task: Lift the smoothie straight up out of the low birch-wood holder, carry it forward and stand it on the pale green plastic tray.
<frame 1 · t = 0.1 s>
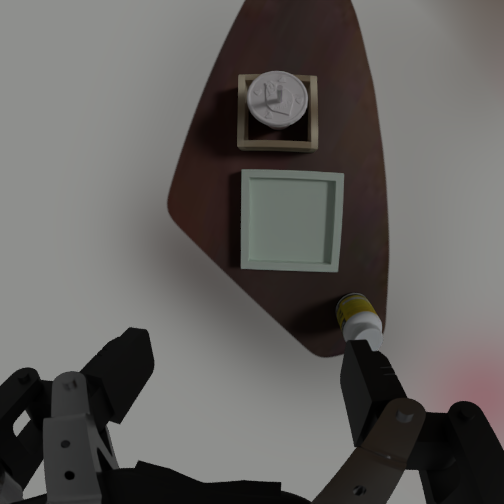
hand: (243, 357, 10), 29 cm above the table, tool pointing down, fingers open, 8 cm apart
supplement bottle: (351, 308, 40), on the table
holder: (278, 117, 35), on the table
tray: (291, 219, 38), on the table
smoothie: (278, 117, 35), resting in holder
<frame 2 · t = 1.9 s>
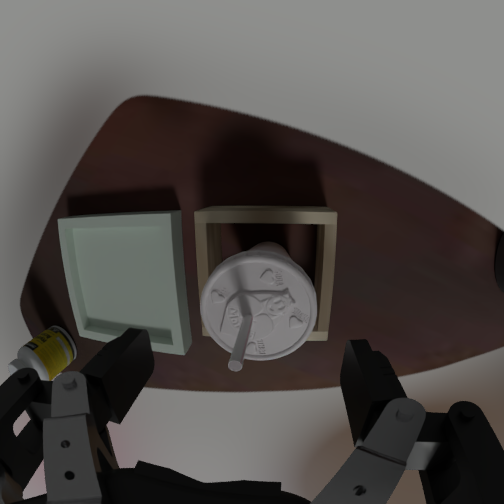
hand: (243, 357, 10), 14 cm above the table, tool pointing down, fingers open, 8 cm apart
supplement bottle: (64, 341, 30), on the table
holder: (268, 262, 24), on the table
tray: (126, 278, 26), on the table
smoothie: (268, 262, 24), resting in holder
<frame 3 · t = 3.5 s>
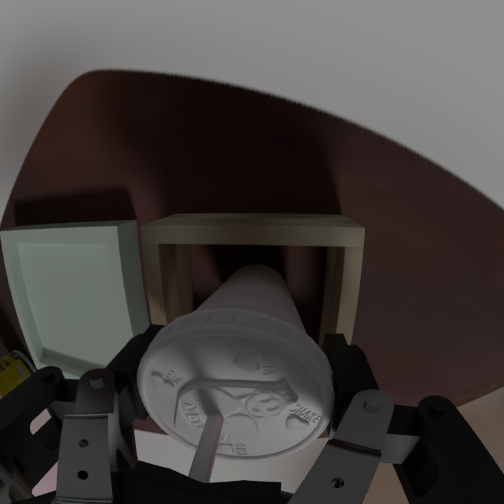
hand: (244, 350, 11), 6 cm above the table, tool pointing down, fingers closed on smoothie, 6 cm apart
supplement bottle: (27, 367, 23), on the table
holder: (257, 293, 17), on the table
tray: (78, 305, 19), on the table
smoothie: (257, 292, 17), resting in holder, touching gripper
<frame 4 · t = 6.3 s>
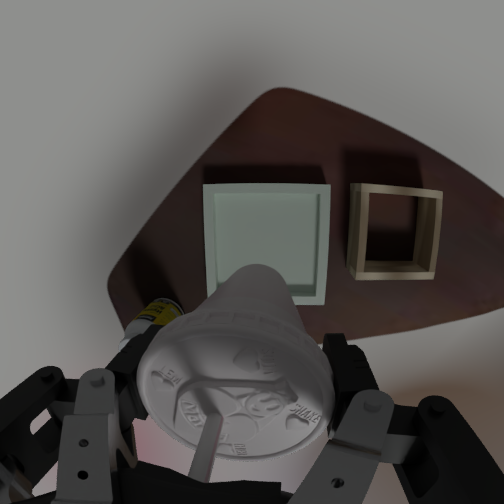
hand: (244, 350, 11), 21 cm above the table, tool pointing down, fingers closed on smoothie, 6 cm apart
supplement bottle: (167, 314, 35), on the table
holder: (387, 227, 30), on the table
tray: (267, 241, 32), on the table
smoothie: (257, 291, 17), point 15 cm above the table, touching gripper
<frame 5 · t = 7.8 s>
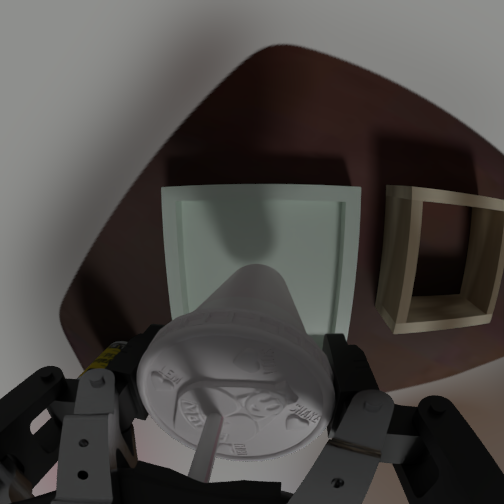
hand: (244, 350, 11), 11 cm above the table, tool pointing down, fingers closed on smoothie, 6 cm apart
supplement bottle: (131, 360, 25), on the table
holder: (433, 249, 19), on the table
tray: (261, 272, 21), on the table
smoothie: (257, 291, 17), point 4 cm above the table, touching gripper
when the fingers open (9 cm above the table, at t = 9.1 s): smoothie drops 1 cm, resting on tray.
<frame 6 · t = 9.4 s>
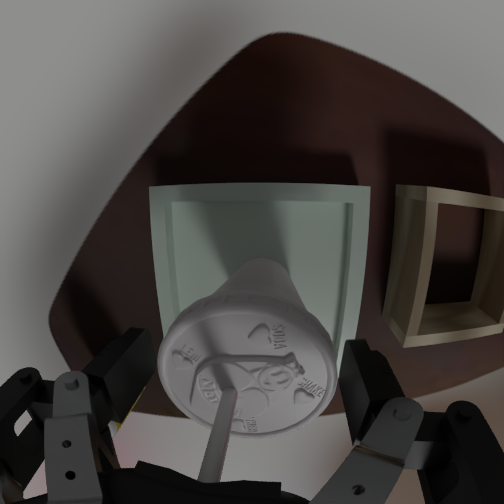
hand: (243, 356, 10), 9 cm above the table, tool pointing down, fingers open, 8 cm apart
holder: (444, 254, 17), on the table
tray: (259, 279, 19), on the table
smoothie: (262, 284, 18), point 1 cm above the table, touching tray
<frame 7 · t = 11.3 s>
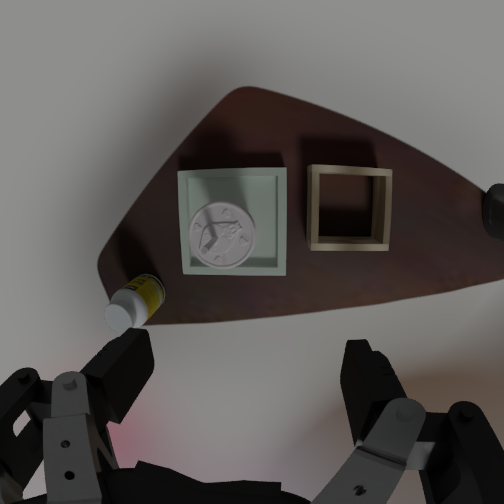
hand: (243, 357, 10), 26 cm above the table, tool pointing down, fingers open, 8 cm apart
supplement bottle: (149, 289, 39), on the table
holder: (343, 205, 34), on the table
tray: (234, 220, 36), on the table
smoothie: (235, 220, 35), point 1 cm above the table, touching tray
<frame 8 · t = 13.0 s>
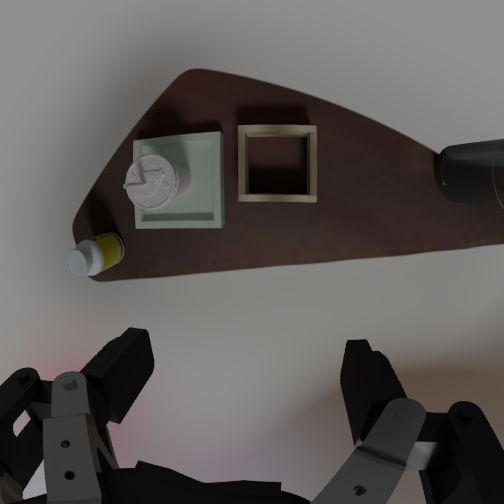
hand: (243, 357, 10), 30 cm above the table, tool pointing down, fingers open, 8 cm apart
supplement bottle: (112, 247, 43), on the table
holder: (277, 164, 37), on the table
tray: (180, 181, 39), on the table
smoothie: (179, 181, 38), point 1 cm above the table, touching tray
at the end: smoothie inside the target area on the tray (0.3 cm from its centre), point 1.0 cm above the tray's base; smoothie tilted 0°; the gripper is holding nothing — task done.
